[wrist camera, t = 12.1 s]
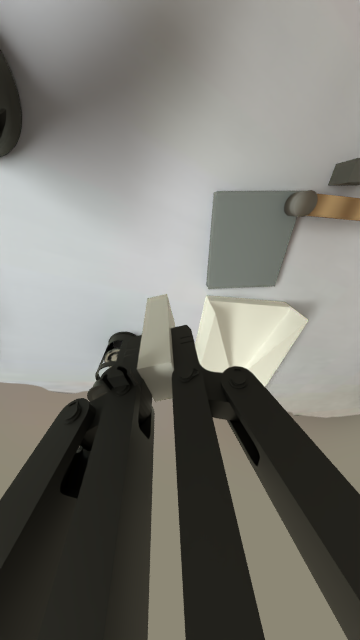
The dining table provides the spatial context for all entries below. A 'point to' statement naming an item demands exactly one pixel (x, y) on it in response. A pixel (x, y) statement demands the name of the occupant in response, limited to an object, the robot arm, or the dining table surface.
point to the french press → (110, 362)
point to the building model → (246, 334)
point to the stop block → (346, 173)
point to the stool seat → (248, 238)
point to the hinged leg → (322, 206)
